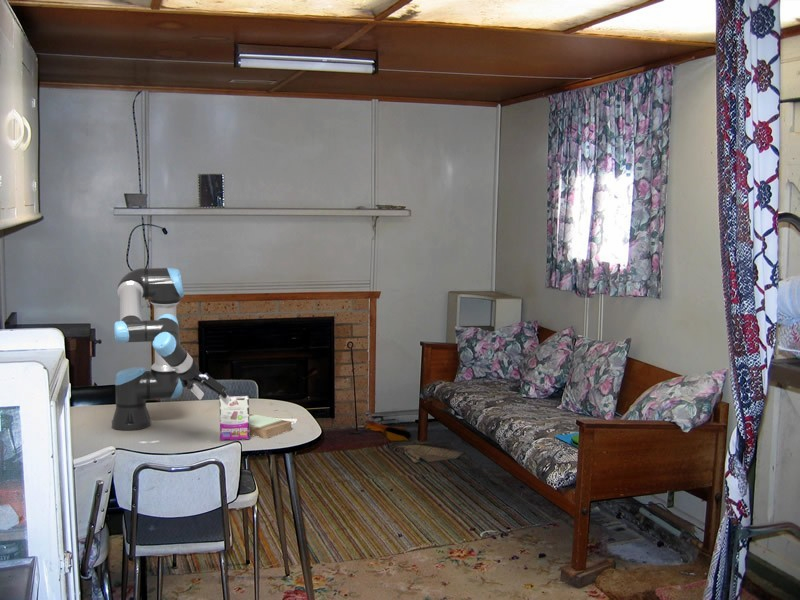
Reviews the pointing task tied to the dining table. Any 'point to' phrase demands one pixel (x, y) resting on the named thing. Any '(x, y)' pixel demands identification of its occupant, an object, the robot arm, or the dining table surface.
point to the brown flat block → (270, 429)
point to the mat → (262, 421)
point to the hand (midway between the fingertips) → (214, 399)
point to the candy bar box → (234, 419)
